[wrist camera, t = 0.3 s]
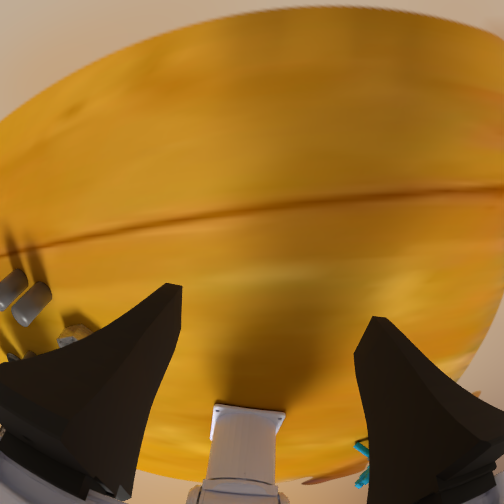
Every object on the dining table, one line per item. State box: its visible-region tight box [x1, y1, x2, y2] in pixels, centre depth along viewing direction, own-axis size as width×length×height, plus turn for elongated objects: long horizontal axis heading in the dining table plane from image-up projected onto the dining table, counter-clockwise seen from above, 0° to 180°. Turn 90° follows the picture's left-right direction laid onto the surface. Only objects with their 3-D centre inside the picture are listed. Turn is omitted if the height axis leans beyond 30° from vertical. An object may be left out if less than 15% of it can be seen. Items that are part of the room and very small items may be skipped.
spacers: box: [0, 269, 52, 359], centre depth 24 cm, size 16×17×4 cm
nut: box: [57, 324, 94, 348], centre depth 25 cm, size 6×5×2 cm
